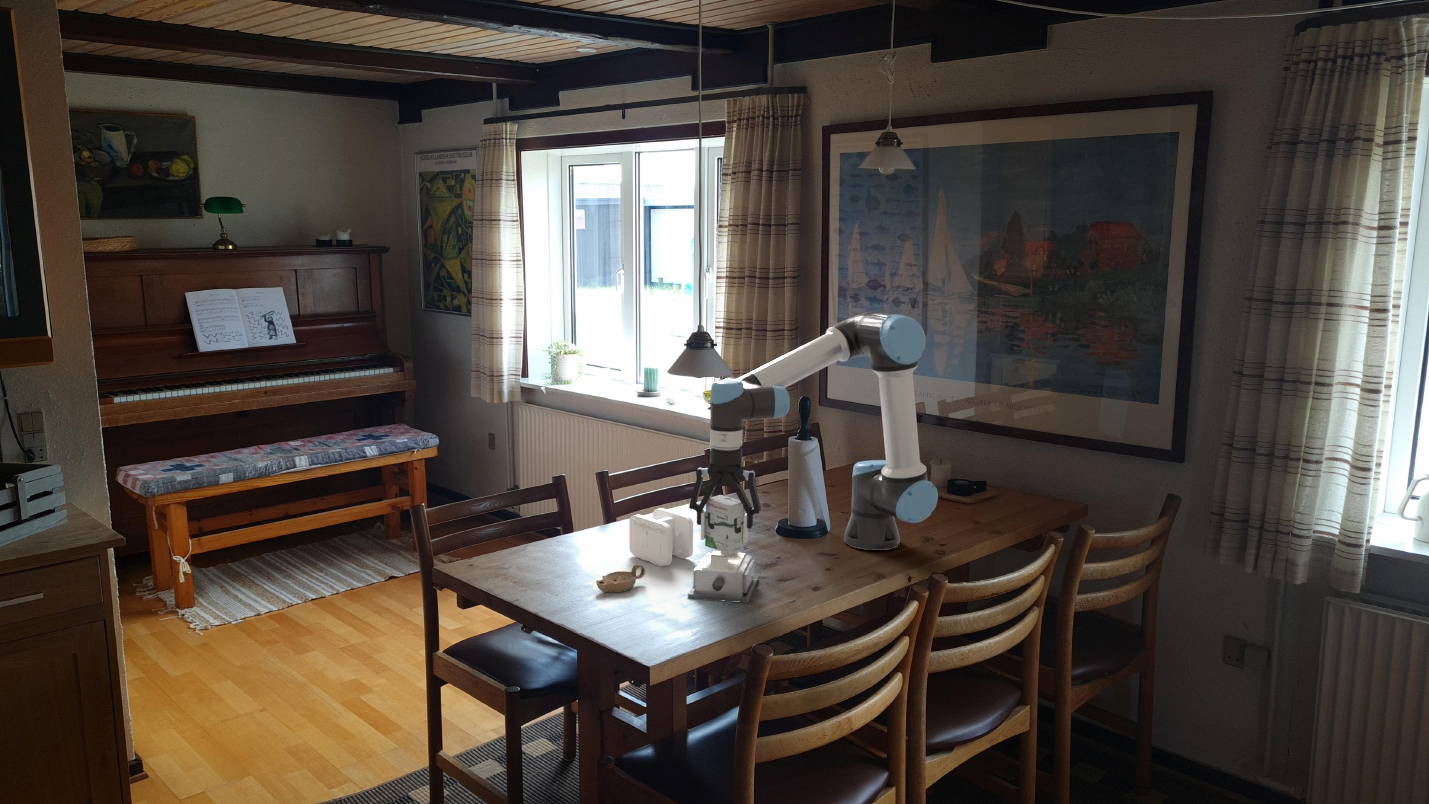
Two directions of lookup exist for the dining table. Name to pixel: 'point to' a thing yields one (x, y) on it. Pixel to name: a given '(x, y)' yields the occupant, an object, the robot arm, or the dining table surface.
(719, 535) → the ink box
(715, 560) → the white boxy piece
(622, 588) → the oil lamp
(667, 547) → the cable organizer
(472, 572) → the dining table surface
